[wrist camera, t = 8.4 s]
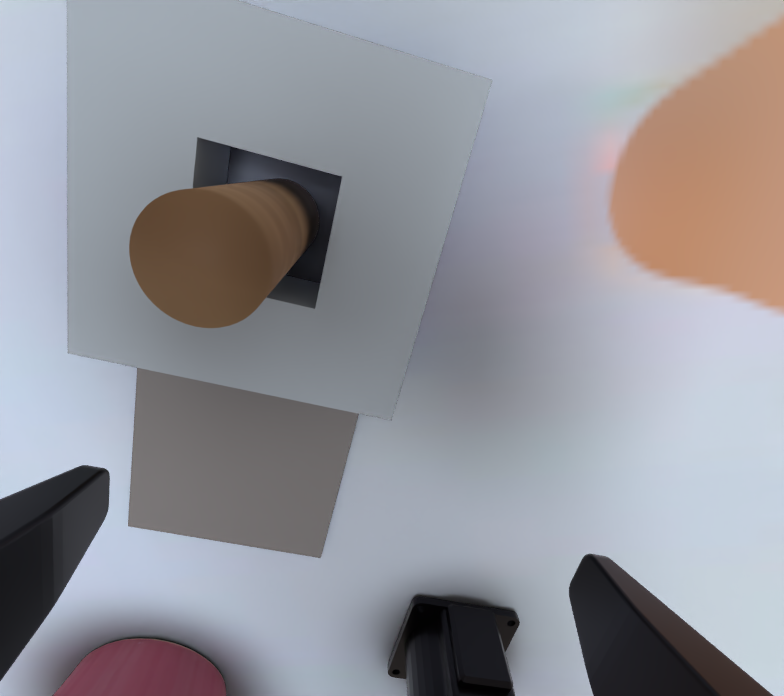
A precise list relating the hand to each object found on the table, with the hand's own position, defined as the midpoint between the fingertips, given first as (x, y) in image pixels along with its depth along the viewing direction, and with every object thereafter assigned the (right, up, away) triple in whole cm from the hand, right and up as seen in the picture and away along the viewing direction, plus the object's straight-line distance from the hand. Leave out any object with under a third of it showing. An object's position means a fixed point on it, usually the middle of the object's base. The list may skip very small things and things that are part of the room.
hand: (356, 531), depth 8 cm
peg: (-4, +9, +10) cm, 13 cm away
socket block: (-4, +9, +10) cm, 13 cm away
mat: (-6, 0, +13) cm, 15 cm away
